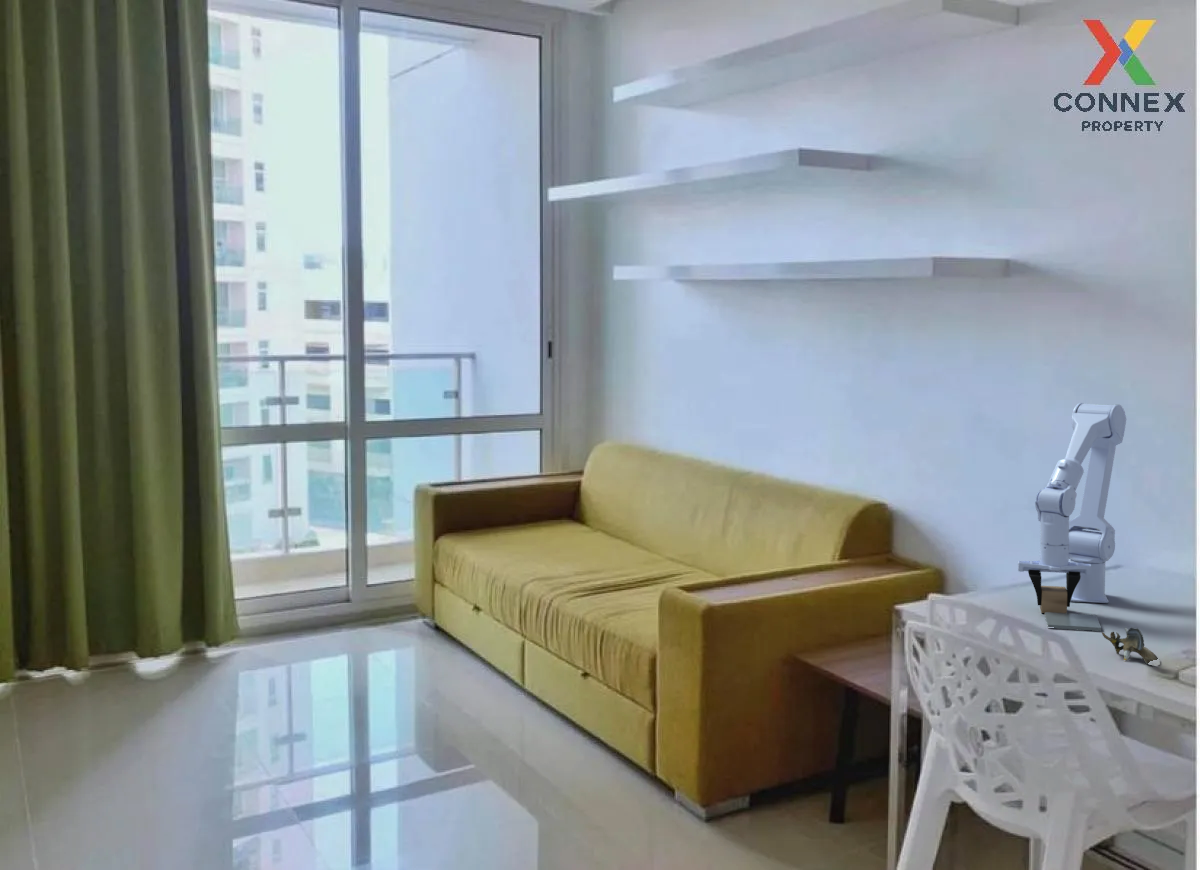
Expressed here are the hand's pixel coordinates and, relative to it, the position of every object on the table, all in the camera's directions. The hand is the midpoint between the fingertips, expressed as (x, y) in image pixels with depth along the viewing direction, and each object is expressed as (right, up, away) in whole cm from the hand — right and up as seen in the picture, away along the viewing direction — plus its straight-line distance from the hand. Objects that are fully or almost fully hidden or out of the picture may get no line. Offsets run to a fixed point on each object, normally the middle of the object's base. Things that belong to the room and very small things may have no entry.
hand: (1053, 605), depth 238 cm
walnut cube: (0, -1, 0) cm, 1 cm away
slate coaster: (0, -2, -9) cm, 10 cm away
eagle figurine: (+1, -5, -34) cm, 34 cm away
